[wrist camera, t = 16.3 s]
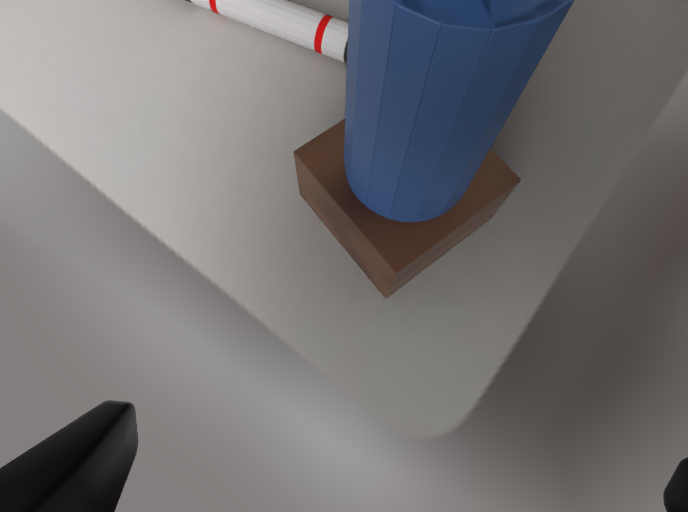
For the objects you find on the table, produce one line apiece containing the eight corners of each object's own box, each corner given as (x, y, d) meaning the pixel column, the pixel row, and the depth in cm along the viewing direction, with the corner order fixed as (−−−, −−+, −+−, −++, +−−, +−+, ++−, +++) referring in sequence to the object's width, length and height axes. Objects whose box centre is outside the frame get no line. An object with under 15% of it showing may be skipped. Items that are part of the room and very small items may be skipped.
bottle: (495, 176, 20) (781, -260, 7) (399, 247, 19) (536, -123, 6) (413, 92, 21) (532, -397, 9) (319, 154, 20) (292, -308, 7)
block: (491, 217, 24) (521, 179, 20) (385, 299, 22) (396, 273, 18) (403, 124, 25) (415, 73, 22) (299, 193, 24) (293, 151, 20)
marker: (380, 54, 27) (384, 27, 25) (367, 79, 26) (369, 53, 24) (156, -31, 29) (143, -63, 27) (138, -10, 28) (124, -41, 26)
